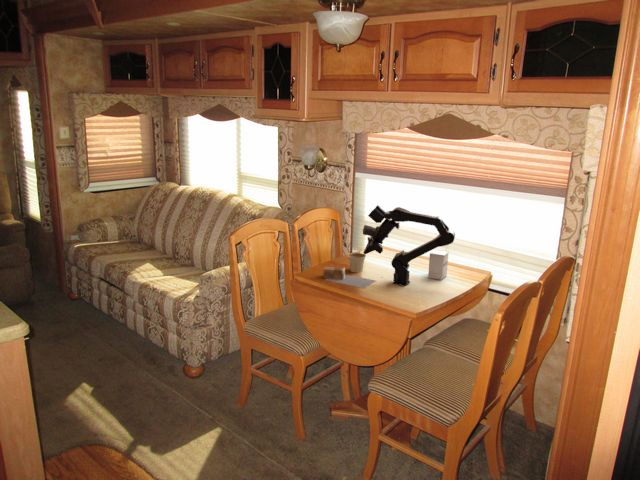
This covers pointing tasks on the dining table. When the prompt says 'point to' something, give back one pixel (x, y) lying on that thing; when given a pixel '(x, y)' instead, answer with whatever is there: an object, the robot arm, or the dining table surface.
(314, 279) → the dining table surface
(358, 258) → the flower pot
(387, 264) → the dining table surface
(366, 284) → the rubber mat
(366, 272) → the dining table surface
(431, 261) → the supplement box
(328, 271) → the walnut block
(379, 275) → the dining table surface
